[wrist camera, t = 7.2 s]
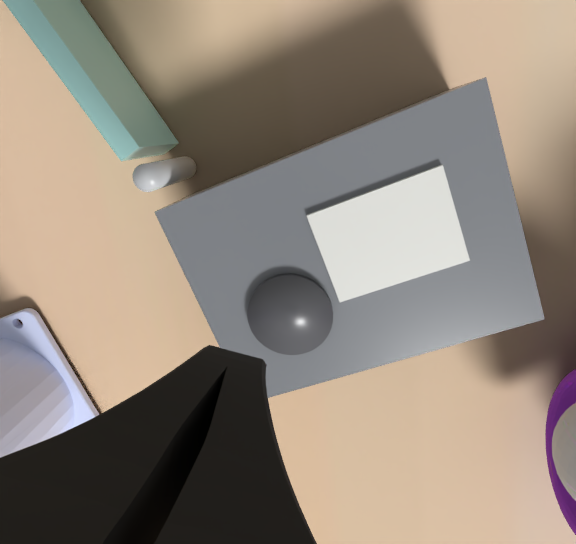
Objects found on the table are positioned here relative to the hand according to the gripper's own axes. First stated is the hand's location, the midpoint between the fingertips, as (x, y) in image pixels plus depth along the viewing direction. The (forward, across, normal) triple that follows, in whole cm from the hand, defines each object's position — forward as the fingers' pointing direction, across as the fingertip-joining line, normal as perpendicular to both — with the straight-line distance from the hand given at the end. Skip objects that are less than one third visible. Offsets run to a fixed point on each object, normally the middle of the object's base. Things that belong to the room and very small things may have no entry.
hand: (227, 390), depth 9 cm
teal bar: (+10, +8, -6) cm, 14 cm away
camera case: (+10, -2, -2) cm, 10 cm away
